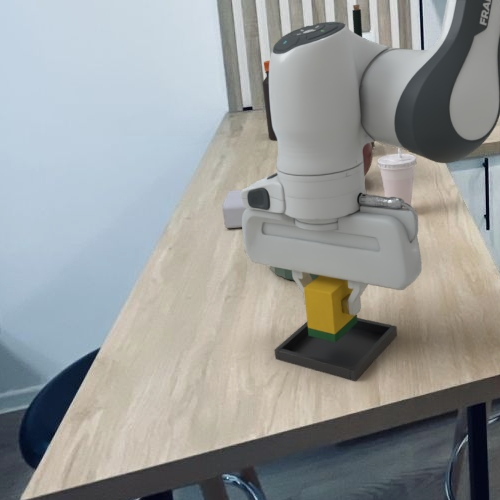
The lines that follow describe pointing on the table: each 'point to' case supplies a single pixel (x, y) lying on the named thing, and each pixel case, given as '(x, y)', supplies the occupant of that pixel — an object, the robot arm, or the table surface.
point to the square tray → (338, 349)
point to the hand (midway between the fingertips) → (332, 308)
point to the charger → (233, 209)
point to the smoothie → (398, 175)
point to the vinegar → (268, 102)
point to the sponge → (327, 308)
